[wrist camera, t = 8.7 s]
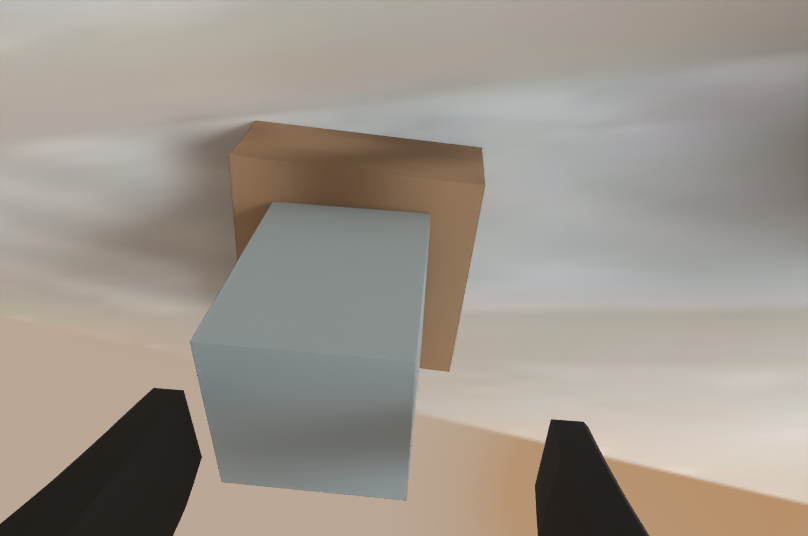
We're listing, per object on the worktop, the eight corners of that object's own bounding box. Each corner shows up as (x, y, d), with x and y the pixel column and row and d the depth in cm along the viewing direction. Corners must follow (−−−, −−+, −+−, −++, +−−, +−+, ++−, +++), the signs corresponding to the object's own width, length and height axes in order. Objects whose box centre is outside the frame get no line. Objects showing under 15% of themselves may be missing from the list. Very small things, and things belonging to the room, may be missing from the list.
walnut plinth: (481, 142, 18) (485, 185, 16) (450, 316, 22) (449, 371, 20) (260, 116, 18) (229, 154, 16) (268, 293, 22) (244, 346, 20)
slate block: (430, 213, 16) (415, 361, 11) (422, 336, 19) (406, 500, 14) (272, 202, 17) (189, 341, 12) (285, 324, 19) (221, 481, 14)
